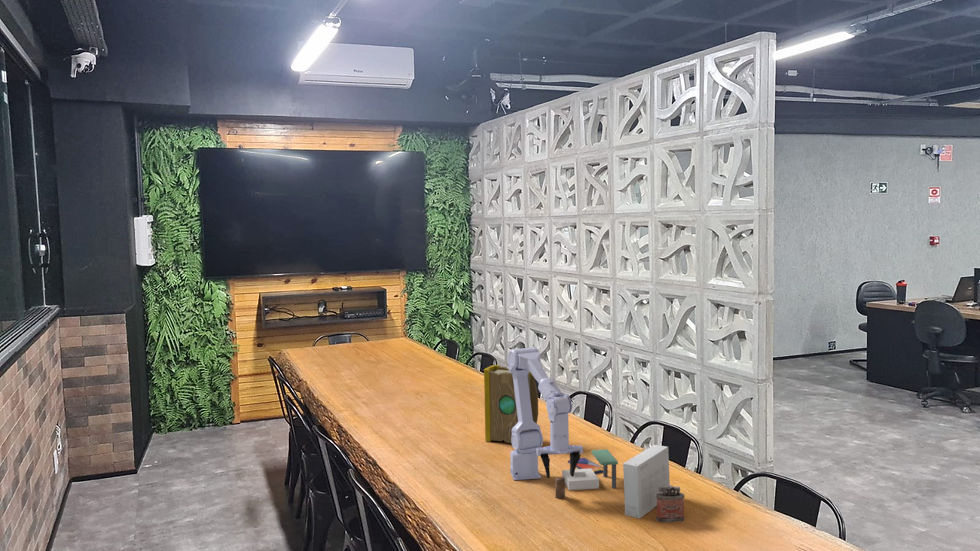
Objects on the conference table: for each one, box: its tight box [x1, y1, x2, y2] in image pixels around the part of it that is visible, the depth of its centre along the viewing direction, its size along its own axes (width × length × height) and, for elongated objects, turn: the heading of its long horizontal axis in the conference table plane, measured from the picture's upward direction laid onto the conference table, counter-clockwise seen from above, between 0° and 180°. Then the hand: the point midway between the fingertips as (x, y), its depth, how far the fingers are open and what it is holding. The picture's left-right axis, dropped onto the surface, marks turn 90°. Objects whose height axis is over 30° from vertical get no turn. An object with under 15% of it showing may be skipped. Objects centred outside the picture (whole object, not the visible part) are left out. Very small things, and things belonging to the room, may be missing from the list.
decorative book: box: [483, 364, 539, 445], centre depth 272 cm, size 20×11×30 cm, turn 63°
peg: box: [554, 476, 566, 500], centre depth 216 cm, size 3×3×6 cm
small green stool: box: [591, 449, 619, 489], centre depth 228 cm, size 6×12×9 cm, turn 6°
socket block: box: [561, 468, 600, 491], centre depth 227 cm, size 10×10×3 cm
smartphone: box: [567, 457, 603, 475], centre depth 243 cm, size 7×15×1 cm, turn 26°
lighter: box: [655, 484, 685, 523], centre depth 199 cm, size 8×3×10 cm, turn 92°
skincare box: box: [622, 444, 671, 519], centre depth 209 cm, size 21×5×16 cm, turn 141°
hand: (560, 476), depth 216 cm, fingers open, 7 cm apart
